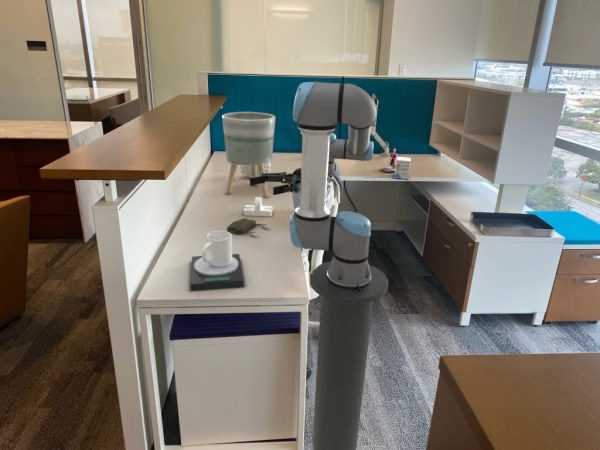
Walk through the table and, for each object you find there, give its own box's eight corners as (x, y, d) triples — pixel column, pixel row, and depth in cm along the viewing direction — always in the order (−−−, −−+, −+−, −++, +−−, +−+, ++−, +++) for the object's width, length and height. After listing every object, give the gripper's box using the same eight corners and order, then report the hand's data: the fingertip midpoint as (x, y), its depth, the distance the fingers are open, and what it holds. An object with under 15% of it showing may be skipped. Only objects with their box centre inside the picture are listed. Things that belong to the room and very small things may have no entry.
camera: (240, 175, 268) (239, 149, 262) (269, 175, 270) (270, 149, 264) (240, 180, 258) (239, 153, 252) (271, 180, 260) (271, 153, 254)
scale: (243, 286, 147) (243, 278, 146) (190, 290, 143) (190, 281, 142) (239, 259, 165) (239, 251, 164) (192, 262, 161) (191, 254, 160)
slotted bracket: (243, 215, 207) (243, 199, 204) (245, 210, 213) (245, 194, 210) (271, 216, 206) (271, 200, 204) (272, 211, 213) (272, 195, 210)
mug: (211, 274, 147) (209, 246, 143) (194, 266, 152) (193, 238, 148) (237, 261, 156) (236, 235, 152) (221, 254, 161) (220, 228, 157)
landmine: (241, 215, 199) (270, 222, 193) (241, 221, 200) (270, 227, 194) (222, 225, 187) (253, 233, 181) (223, 231, 188) (253, 239, 182)
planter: (276, 199, 228) (278, 120, 213) (224, 200, 224) (222, 119, 209) (271, 184, 253) (272, 112, 237) (224, 185, 249) (222, 111, 233)
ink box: (394, 178, 273) (396, 159, 269) (394, 174, 281) (396, 156, 277) (408, 179, 272) (410, 160, 267) (408, 175, 279) (410, 157, 275)
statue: (391, 170, 295) (395, 147, 291) (400, 173, 287) (405, 150, 283) (378, 169, 290) (382, 146, 285) (386, 173, 282) (391, 149, 278)
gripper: (328, 194, 163) (284, 206, 150) (284, 178, 180) (241, 188, 167) (329, 174, 160) (284, 184, 147) (285, 160, 177) (241, 168, 164)
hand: (261, 186), depth 157 cm, fingers open, 13 cm apart
